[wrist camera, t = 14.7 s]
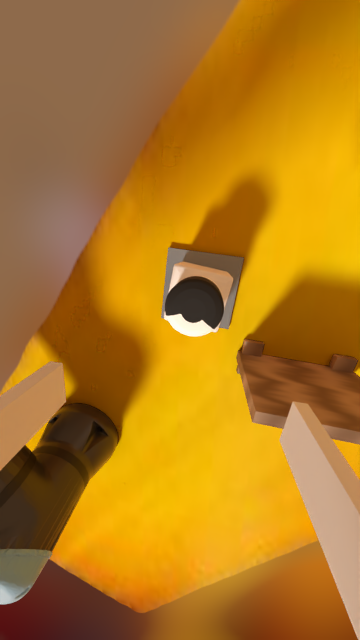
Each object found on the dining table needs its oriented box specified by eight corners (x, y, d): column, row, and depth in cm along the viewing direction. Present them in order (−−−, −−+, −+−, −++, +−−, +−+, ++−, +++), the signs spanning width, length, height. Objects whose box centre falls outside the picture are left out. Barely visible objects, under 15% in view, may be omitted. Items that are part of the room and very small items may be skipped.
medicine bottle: (181, 260, 30) (165, 265, 19) (229, 271, 30) (240, 283, 19) (172, 306, 33) (152, 334, 21) (215, 316, 32) (218, 351, 21)
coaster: (162, 316, 34) (161, 317, 34) (169, 247, 31) (168, 247, 30) (227, 327, 33) (228, 329, 33) (243, 257, 30) (244, 257, 29)
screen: (233, 369, 36) (247, 438, 22) (241, 338, 34) (261, 393, 20) (342, 389, 34) (426, 476, 21) (357, 357, 32) (460, 431, 19)
